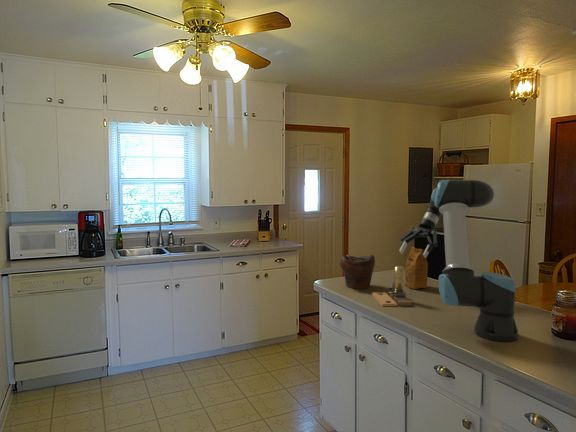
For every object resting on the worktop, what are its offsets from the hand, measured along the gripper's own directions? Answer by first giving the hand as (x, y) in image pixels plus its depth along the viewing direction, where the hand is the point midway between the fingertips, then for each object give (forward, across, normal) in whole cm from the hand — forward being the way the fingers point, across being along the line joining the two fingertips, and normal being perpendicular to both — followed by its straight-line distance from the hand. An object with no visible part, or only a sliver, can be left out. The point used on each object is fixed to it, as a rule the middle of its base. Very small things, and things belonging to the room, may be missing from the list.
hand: (412, 254), depth 216 cm
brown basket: (+20, +30, -11) cm, 37 cm away
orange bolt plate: (+28, +4, -2) cm, 28 cm away
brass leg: (+22, 0, -4) cm, 23 cm away
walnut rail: (+24, -1, -6) cm, 25 cm away
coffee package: (+3, +8, -28) cm, 29 cm away
